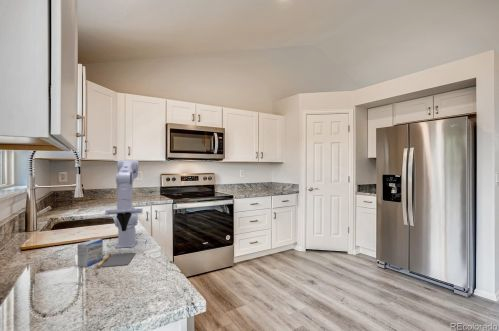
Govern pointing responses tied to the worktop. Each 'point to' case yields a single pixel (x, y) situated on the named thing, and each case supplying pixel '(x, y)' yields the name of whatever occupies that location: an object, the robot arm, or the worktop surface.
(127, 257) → the rubber mat
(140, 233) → the worktop surface
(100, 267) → the oak strip
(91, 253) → the medicine box
